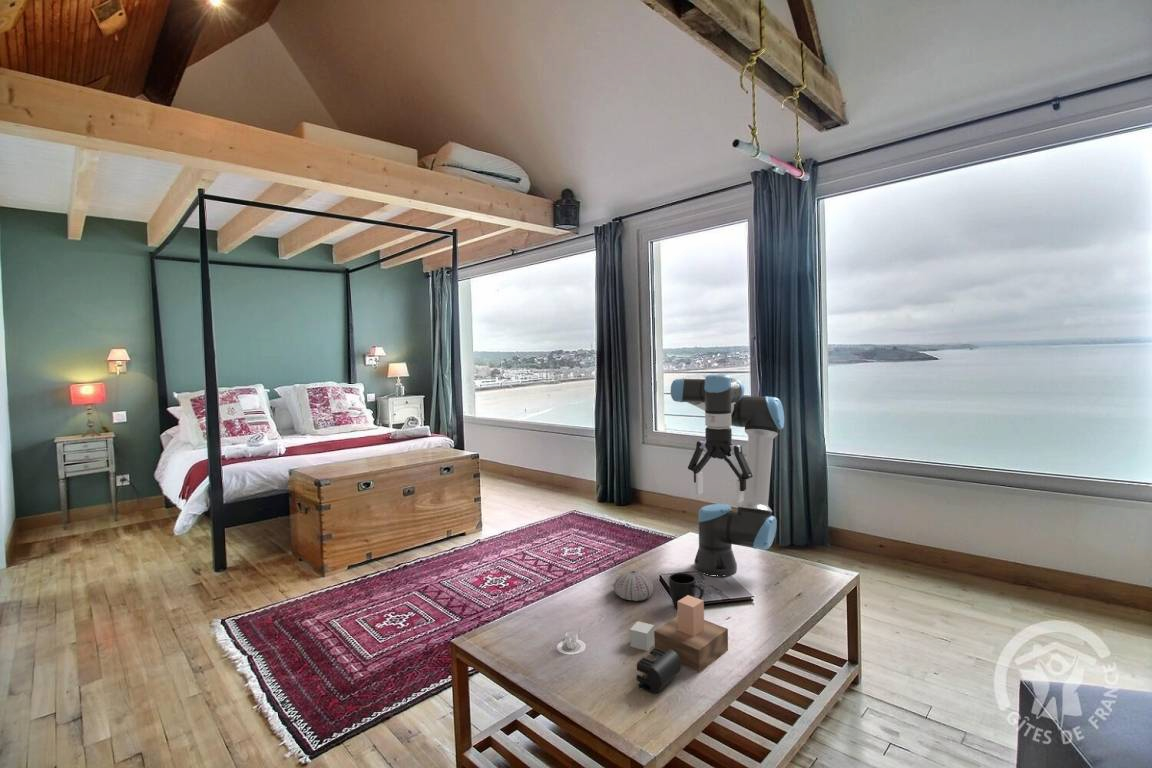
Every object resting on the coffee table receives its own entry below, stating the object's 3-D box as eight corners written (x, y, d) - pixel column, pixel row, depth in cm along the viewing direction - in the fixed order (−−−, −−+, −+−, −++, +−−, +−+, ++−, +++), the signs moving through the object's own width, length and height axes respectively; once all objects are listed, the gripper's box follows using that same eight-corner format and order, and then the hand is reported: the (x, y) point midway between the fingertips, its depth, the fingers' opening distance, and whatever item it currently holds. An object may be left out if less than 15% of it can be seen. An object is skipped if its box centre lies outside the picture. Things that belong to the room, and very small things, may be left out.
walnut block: (684, 632, 159) (683, 612, 159) (728, 650, 149) (727, 628, 149) (654, 652, 150) (654, 630, 149) (699, 673, 140) (699, 650, 139)
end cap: (661, 699, 130) (661, 671, 130) (636, 688, 134) (635, 661, 134) (682, 678, 138) (681, 652, 137) (657, 668, 142) (656, 643, 142)
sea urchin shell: (629, 582, 194) (628, 560, 193) (662, 593, 185) (661, 570, 184) (605, 596, 184) (604, 573, 183) (639, 608, 175) (638, 583, 174)
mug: (693, 621, 165) (693, 590, 165) (664, 606, 175) (663, 577, 174) (711, 612, 171) (710, 582, 170) (681, 598, 180) (681, 570, 179)
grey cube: (637, 638, 157) (637, 621, 157) (654, 642, 155) (653, 625, 154) (630, 646, 153) (630, 629, 153) (647, 651, 150) (646, 633, 150)
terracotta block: (688, 623, 153) (687, 595, 152) (704, 629, 149) (703, 600, 148) (677, 630, 149) (677, 601, 149) (693, 636, 146) (693, 607, 145)
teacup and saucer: (567, 636, 160) (566, 623, 159) (591, 643, 156) (591, 629, 156) (551, 652, 152) (551, 637, 152) (577, 659, 148) (576, 644, 148)
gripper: (675, 425, 170) (677, 493, 171) (751, 432, 152) (752, 508, 154) (689, 422, 175) (690, 488, 177) (764, 428, 157) (764, 502, 159)
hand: (719, 497), depth 165 cm, fingers open, 13 cm apart
